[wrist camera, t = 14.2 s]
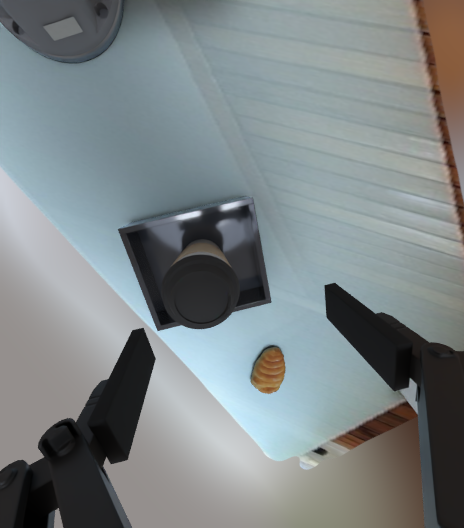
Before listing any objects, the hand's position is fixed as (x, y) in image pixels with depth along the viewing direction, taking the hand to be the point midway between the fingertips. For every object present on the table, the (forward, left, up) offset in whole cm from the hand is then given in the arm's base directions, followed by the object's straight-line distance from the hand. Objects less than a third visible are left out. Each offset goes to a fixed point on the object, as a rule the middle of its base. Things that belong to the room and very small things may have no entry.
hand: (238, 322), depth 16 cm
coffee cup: (+2, -3, -23) cm, 24 cm away
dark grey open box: (+2, -3, -24) cm, 24 cm away
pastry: (+28, +4, -24) cm, 37 cm away
